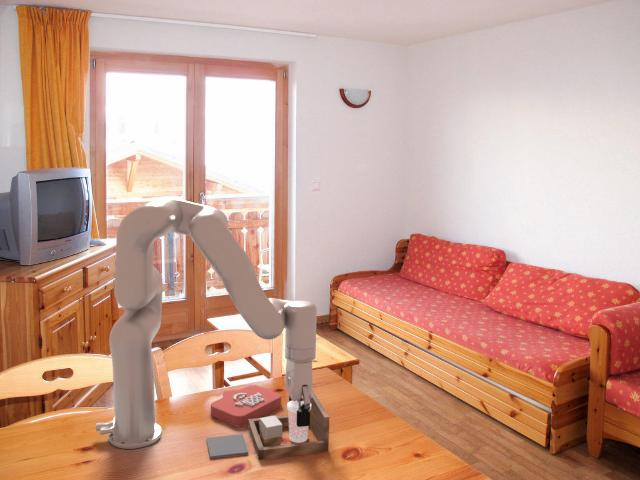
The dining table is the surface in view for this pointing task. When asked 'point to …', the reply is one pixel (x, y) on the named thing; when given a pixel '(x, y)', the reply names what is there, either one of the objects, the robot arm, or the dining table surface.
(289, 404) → the beverage cup
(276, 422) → the offcut top
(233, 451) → the coaster
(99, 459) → the dining table surface
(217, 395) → the dining table surface
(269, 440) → the block
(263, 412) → the plaque
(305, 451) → the rack
